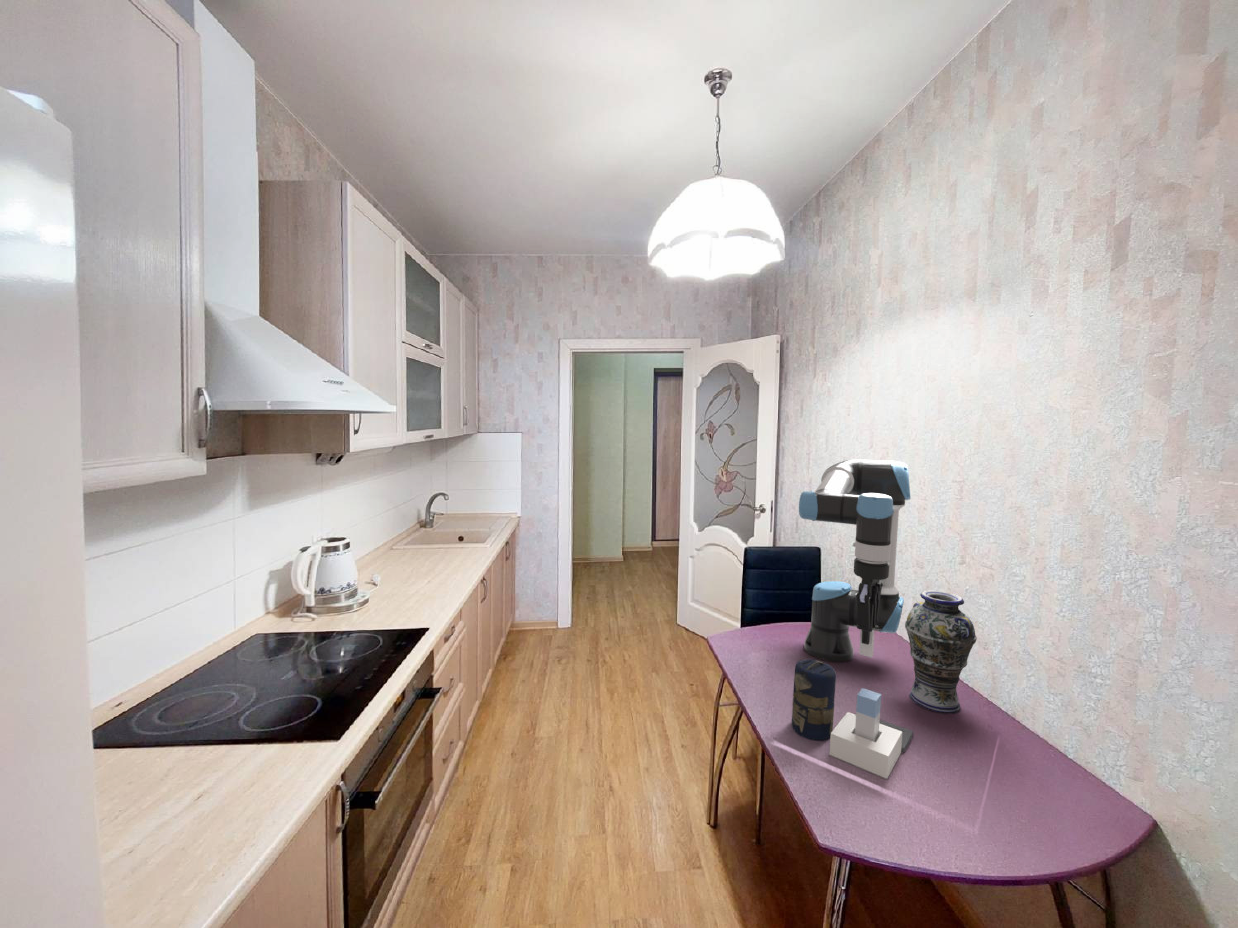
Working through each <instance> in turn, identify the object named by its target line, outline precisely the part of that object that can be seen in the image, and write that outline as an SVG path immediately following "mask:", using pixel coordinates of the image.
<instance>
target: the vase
mask: <svg viewBox="0 0 1238 928" xmlns="http://www.w3.org/2000/svg"><path fill="white" fill-rule="evenodd" d="M919 596H920V597H921V599H922V600H924V601H919V602H915V603H914V604H913V607H912V608H911V610H910V611H909V613H908V615H907V618H906V621H905V623H904V628H905V629H906V633H907V636H908V642H909V646H910V647H909V648H910V652H909V653H910V655H911V657H912V661H913V666H914V667H913V671H914V682H913V684H912V688H911V691H910V693H909V694H908V695H909V699H910V700H911V701H912V702H913V703H915V704H916V705H918V706H919V707H921V708H923V709H926V710H928V711H931V712H934V713H939V714H957V713H960V711H961V710H962V709H961V708H962V707H961V705H960V701H959V697H958V692H957V687H958V684H959V682H960V676H961V673H962V671H963V669H964V668H966V667H967V665H968V659H969V656H970V653H971V651H972V649H973V646H974V645H975V644H976V642H977V640H978V639H977V635H976V631H975V630H976V629H975V627H974V623H973V622H972V620H971V619H970V617H969V616H968V615H966V614H965V613H964V612H963V611H961V610H960V609H959V607H960V606H961V605H964V604H965V600H964V599H963V598H962V597H961V596H960V595H957V594H955V593H953V592H952V593H951V592H947V591H943V590H924V591H922V592H921V593H920V594H919Z"/></svg>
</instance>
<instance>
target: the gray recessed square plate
mask: <svg viewBox="0 0 1238 928" xmlns="http://www.w3.org/2000/svg"><path fill="white" fill-rule="evenodd" d="M879 723H880V724H883V725H885V726H888V727H891V728H894V729H897V730H899V731H902V746H901V754H905V752H906V750H907V748H908V747H909V745H910V743H911V741H912V739H913V737H914V730H911V729H908V728H905V727H903V726H900V725H897V724H894V723H891V722H889V721H886V720H884V719H883V720H882V719H881V718H880V722H879Z"/></svg>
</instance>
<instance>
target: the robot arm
mask: <svg viewBox="0 0 1238 928" xmlns="http://www.w3.org/2000/svg"><path fill="white" fill-rule="evenodd" d="M820 481H821V482H820V484H819V486H818V487H817V489H816V490H815V491H814V490H810V491H802V492H801V494H800V495H799V496H800V497H799V501H798V514H799V518H801V519H803V520H809V521H812V522H815V521H817V522H827V523H836V524H837V523H838V524H843V525H845V524H846V525H854V526H855V525H856V526H855V528H856V529H855V540H854V541H855V542H853V544H852V546H853V547H854V557H855V558H854V560H853V561H854V562H853V573H854V575H856V576H857V577H860V578H861V582H859V584H858V588H857V590H856V589H852V588H853V587H852V585H851V584H850V583H849V582H848V583H847V582H844V581H836V580H831V581H823V582H819V583H816V584H815V585H814V586H813V589H812V597H811V600H812V601H811V620H810V621H811V623H810V628H809V630H808V633H807V635H806V637H805V640H804V650H805V652H806V653H807V654H809V655H811V656H812V657H814V658H816V659H820V660H823V661H829V662H835V663H836V662H837V663H840V662H843V663H844V662H848V661H850V660H852V659H853V658H854V647H853V643H852V640H851V637H850V633H849V629H850V627H854V628H857V629H858V630H860V636H859V637H860V638H859V649H858V650H859V651H858V652H859V653H858V654H859V655H861V656H865V657H866V658H867V657H868V658H873V656H874V646H875V645H874V644H875V643H874V642H875V632H879V633H886V634H895V633H896V632H897V631H898V629H899V626H900V622H901V618H902V613H903V609H904V608H903V607H904V602H905V599H904V597H902V596H900V590H899V589H898V588H897V587H896V586H895V577H896V576H895V575H896V559H897V545H898V543H897V542H898V531H899V529H898V528H899V516H900V515H899V513H900V510H901V509H902V508H903V507H905V505H906V501H910V500H911V488H910V487H911V486H910V476H909V466H908V465H907V463H905V462H903V461H895V460H877V459H876V460H873V459H848V460H843V461H839V462H837V463H834V464H832V465H831V466H829V467H827V469H825V471H824V472H823V474H822V476H821V479H820Z"/></svg>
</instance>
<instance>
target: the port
mask: <svg viewBox="0 0 1238 928" xmlns="http://www.w3.org/2000/svg"><path fill="white" fill-rule="evenodd" d="M855 724H856V713H855V714H854V713H851V712H849V711H847V712H846V713H845V715H844V716H843V717H842V719H841V720H840V721H839V722H838V724H837V725H836V726H835V727H834V728H833V731H832V732H831V736H830V738H829V755H828V756H830V757H833V758H835V759H837V760H839V761H841V762H844V763H846V764H848V765H851V766H853V767H855V768H859V769H860V770H863V771H865V772H868V773H870V774H873V775H874V776H877V777H880V779H885V780H888V778H889V776H890V775H891V773H892V771H893V769H894V767H895V766H896V764H897V762H898V760H899V758H900V756H901V754H902V752H901V746H902V731H899V730H897V729H894V728H891V727H888V726H885V725H883V724H880V723H879V738H878V740H877V741H876V742H873V741H871V740H868V739H866V738H863V737H860V736H858V735H855Z"/></svg>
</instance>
